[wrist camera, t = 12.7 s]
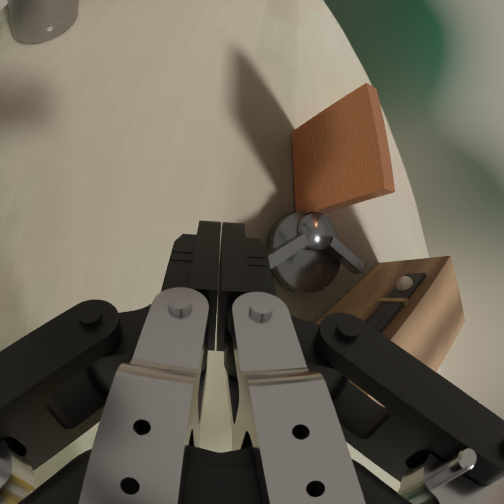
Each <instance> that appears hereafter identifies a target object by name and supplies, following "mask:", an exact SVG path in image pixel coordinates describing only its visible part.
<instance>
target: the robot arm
mask: <svg viewBox="0 0 504 504" xmlns="http://www.w3.org/2000/svg"><path fill="white" fill-rule="evenodd" d="M78 6H79V0H8V8H9V17H10V23H11V30H12V36H13V37H14V39H15V40H16V41H17V42H20V43H23V44H36V43H41V42H44V41H48V40H50V39H53V38H55V37H57V36H59V35H60V34H62V33H64V32H65V31H66V30H67V29H69V28H70V27H71V26H72V25H73V23H74V22H75V20H76V18H77V16H78ZM220 230H221V222H215V221H199V226H198V232H197V235H192V234H182V235H181V236H180V237H179V238H178V239H177V240H176V241H175V242H174V245H173V248H172V253H171V256H170V260H169V263H168V267H167V270H166V274H165V278H164V282H163V286H162V290H161V293H159V294H158V295H157V296H156V297H155V298H154V300H153V302H152V304H150V305H149V306H147V307H145V308H142V309H139V310H135V311H129V312H122V313H118V311H117V310H116V308H115V307H114V306H113V305H112V304H111V303H109V302H107V301H103V300H88V301H84V302H81V303H79V304H77V305H75V306H74V307H72V308H70V309H69V310H67V311H65V312H64V313H62V314H60V315H59V316H57V317H55V318H54V319H52V320H50V321H49V322H47V323H45V324H44V325H42V326H41V327H39V328H37V329H36V330H34V331H32V332H31V333H29V334H28V335H26V336H24V337H23V338H21V339H20V340H18V341H16V342H15V343H13V344H12V345H10V346H8V347H7V348H5V349H4V350H2V351H1V352H0V504H485V502H486V500H487V498H488V495H489V493H490V491H491V488H492V486H493V484H494V483H495V482H496V481H498V480H499V479H501V478H503V477H504V420H503V419H501V418H500V417H498V416H497V415H496V414H494V413H493V412H491V411H490V410H489V409H487V408H486V407H484V406H483V405H482V404H480V403H479V402H477V401H476V400H475V399H473V398H472V397H470V396H469V395H467V394H466V393H465V392H463V391H462V390H460V389H459V388H458V387H456V386H455V385H453V384H452V383H451V382H449V381H448V380H446V379H445V378H443V377H442V376H441V375H439V374H438V373H436V372H435V371H434V370H432V369H431V368H429V367H428V366H426V365H425V364H424V363H422V362H421V361H419V360H418V359H417V358H415V357H414V356H412V355H411V354H409V353H408V352H407V351H405V350H404V349H402V348H401V347H399V346H398V345H397V344H395V343H394V342H392V341H391V340H389V339H388V338H387V337H385V336H384V335H382V334H381V333H379V332H378V331H377V330H375V329H374V328H372V327H371V326H369V325H368V324H367V323H365V322H364V321H362V320H361V319H359V318H358V317H356V316H353V315H350V314H347V313H332V314H329V315H327V316H326V317H325V318H323V320H322V321H321V323H320V325H318V324H314V323H311V322H307V321H303V320H300V319H297V318H295V317H292V316H291V315H290V313H289V310H288V308H287V306H286V305H285V303H284V302H283V301H282V300H280V299H279V298H278V297H276V294H275V289H274V284H273V279H272V273H271V268H270V263H269V260H268V253H267V248H266V247H265V246H264V245H263V243H262V242H261V241H260V240H259V239H250V238H246V237H245V227H244V224H242V223H228V222H223V224H222V236H221V249H220ZM219 251H220V262H219ZM218 276H219V280H218ZM217 298H218V312H217ZM216 313H217V351H224V366H225V369H226V372H225V375H226V384H227V393H228V402H229V410H230V419H231V427H232V451H230V452H224V453H217V452H213V451H209V450H205V449H202V448H199V443H200V427H201V418H202V409H203V401H204V393H205V385H206V377H207V354H208V350H213V351H214V348H215V330H216ZM349 380H350V381H352V382H353V383H354V384H356V385H357V386H358V387H360V388H361V389H362V390H363V391H365V392H366V393H367V394H369V395H370V396H371V397H373V398H374V399H375V400H377V401H378V402H379V403H381V404H382V405H383V406H384V407H382V406H381V405H379V404H378V403H376V402H375V401H374V400H373V399H371V398H370V397H369V396H367V395H366V394H365V393H363V392H362V391H361V390H359V389H358V388H357V387H355V386H354V385H353V384H352V383H350V382H349ZM99 421H100V423H99V426H98V430H97V433H96V437H95V440H94V444H93V447H92V449H90V450H88V451H86V452H84V453H82V454H80V455H79V456H77V457H76V458H74V459H73V460H72V461H70V462H69V463H68V464H67V465H66V466H64V467H63V468H62V469H61V470H59V471H58V472H57V473H56V474H54V475H53V476H52V477H51V478H49V479H48V480H47V481H46V482H44V483H43V484H42V485H41V486H39V487H38V488H37V489H36V490H35V488H36V483H35V480H34V473H33V471H34V470H35V469H36V468H38V467H39V466H41V465H42V464H43V463H45V462H46V461H47V460H49V459H50V458H52V457H53V456H54V455H56V454H57V453H58V452H60V451H61V450H62V449H64V448H65V447H66V446H68V445H69V444H70V443H72V442H73V441H74V440H76V439H77V438H78V437H80V436H81V435H82V434H84V433H85V432H86V431H88V430H89V429H90V428H92V427H93V426H94V425H96V424H97V423H98V422H99ZM346 442H347V443H349V444H350V445H351V446H353V447H354V448H355V449H356V450H358V451H359V452H360V453H362V454H363V455H364V456H366V457H367V458H368V459H369V460H371V461H372V462H374V463H375V464H376V465H378V466H379V467H380V468H382V469H383V470H384V471H386V472H387V473H389V474H390V475H391V476H393V477H394V478H396V479H397V480H398V481H400V482H401V485H400V489H399V491H398V493H397V492H396V491H395V490H393V489H392V488H391V487H389V486H388V485H387V484H385V483H384V482H383V481H382V480H380V479H379V478H378V477H376V476H375V475H374V474H373V473H371V472H370V471H369V470H368V469H366V468H365V467H364V466H362V465H361V464H360V463H358V462H356V461H355V460H353V459H351V456H350V453H349V450H348V447H347V444H346ZM31 492H32V493H31Z"/></svg>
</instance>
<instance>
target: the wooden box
mask: <svg viewBox="0 0 504 504" xmlns="http://www.w3.org/2000/svg"><path fill="white" fill-rule="evenodd" d="M332 313H347V314H350V315H353V316H356V317H358V318H359V319H361V320H362V321H364V322H365V323H367V324H368V325H369V326H371V327H372V328H374V329H375V330H377V331H378V332H379V333H381V334H382V335H384V336H385V337H387V338H388V339H389V340H391V341H392V342H394V343H395V344H397V345H398V346H399V347H401V348H402V349H404V350H405V351H407V352H408V353H409V354H411V355H412V356H414V357H415V358H417V359H418V360H419V361H421V362H422V363H424V364H425V365H426V366H428V367H429V368H431V369H432V370H434V371H435V372H436V371H437V370H438V368H439V366H440V365H441V363H442V361H443V360H444V358H445V356H446V355H447V353H448V351H449V349H450V348H451V346H452V344H453V342H454V340H455V339H456V336H457V335H458V333H459V331H460V329H461V327H462V325H463V323H464V321H465V319H464V314H463V308H462V304H461V299H460V294H459V289H458V285H457V281H456V276H455V273H454V269H453V265H452V261H451V257H450V256H444V257H434V258H424V259H415V260H404V261H394V262H383V263H378V264H377V265H376V266H375V267H374V268H373V269H372V270H371V271H370V272H369V273H368V274H367V275H366V276H365V277H364V278H363V279H362V280H361V281H360V282H359V283H358V284H357V285H356V286H355V287H354V288H353V289H352V290H350V291H349V292H348V293H347V294H346V295H345V296H344V297H343V298H342V299H341V300H340V301H339V302H338V303H336V304H335V305H334V306H333V307H332V308H331V309H330V310H329V311H328V312H327V313H325V314H324V315H323V316H322V317H321V318H320V319H319V320H318V321H316V322H315V323H314V324H318V325H320V323H321V321H322V320H323V318H325V317H326V316H327V315H329V314H332ZM349 382H350V383H352V384H353V385H354V386H355V387H357V388H358V389H359V390H361V391H362V392H363V393H365V394H366V395H367V396H369V397H370V398H371V399H373V400H374V401H375V402H376V403H378V404H379V405H381V406H382V407H384V406H383V405H382V404H381V403H379V402H378V401H377V400H375V399H374V398H373V397H371V396H370V395H369V394H367V393H366V392H365V391H363V390H362V389H361V388H360V387H358V386H357V385H356V384H354V383H353V382H352V381H350V380H349Z"/></svg>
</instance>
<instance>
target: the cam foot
mask: <svg viewBox="0 0 504 504" xmlns="http://www.w3.org/2000/svg"><path fill="white" fill-rule="evenodd" d="M292 144H293V163H294V185H295V213H292V214H289V215H286V216H284V217H283V218H281V219H280V220H279V221H277V223H276V224H275V225H274V226H273V228H272V230H271V232H270V234H269V237H268V242H267V253H268V260H269V263H270V268H271V271H272V273H273V275H274V276H275V278H276V279H277V280H278V281H279V282H280V283H281V284H282V285H283V286H284V287H286V288H288V289H290V290H293V291H297V292H316V291H319V290H322V289H324V288H325V287H327V286H328V285H329V284H330V283H331V282H332V281H333V279H334V278H335V276H336V274H337V272H338V269H339V266H340V263H341V264H342V265H343V266H344V267H346V268H347V269H348V270H349V271H350V272H352V273H353V274H359V273H363V271H364V268H365V265H366V264H365V263H363V262H362V261H361V260H360V259H359V258H358V257H357V256H356V255H355V254H353V253H352V252H351V251H350V250H349V249H348V248H347V247H346V246H344V245H343V244H342V243H341V242H340V241H339V238H338V235H337V233H336V231H335V229H334V227H333V226H332V224H331V222H330V221H329V219H328V218H327V217H326V216H325V215H324V214H322V213H325V212H329V211H332V210H335V209H339V208H342V207H345V206H349V205H352V204H356V203H359V202H362V201H366V200H369V199H373V198H376V197H380V196H383V195H386V194H390V193H393V192H395V188H394V180H393V173H392V166H391V159H390V153H389V147H388V141H387V136H386V130H385V125H384V120H383V116H382V111H381V106H380V102H379V98H378V94H377V89H376V88H374V87H372V86H371V85H369V84H367V83H366V84H364V85H362V86H361V87H359V88H357V89H356V90H354V91H353V92H351V93H350V94H348V95H346V96H345V97H343V98H342V99H340V100H339V101H337V102H336V103H334V104H332V105H331V106H329V107H328V108H326V109H325V110H323V111H322V112H320V113H319V114H317V115H316V116H314V117H313V118H311V119H310V120H308V121H307V122H306V123H304V124H303V125H301V126H300V127H298V128H297V129H295V130H294V131H293V132H292Z"/></svg>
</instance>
